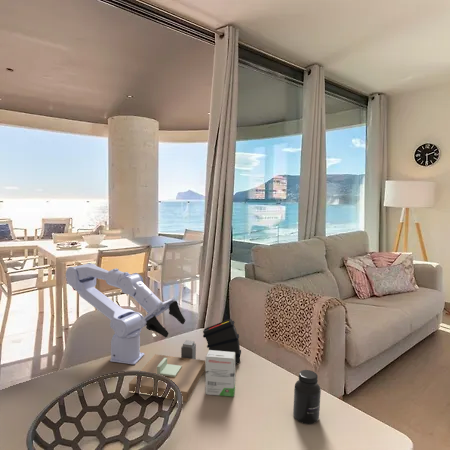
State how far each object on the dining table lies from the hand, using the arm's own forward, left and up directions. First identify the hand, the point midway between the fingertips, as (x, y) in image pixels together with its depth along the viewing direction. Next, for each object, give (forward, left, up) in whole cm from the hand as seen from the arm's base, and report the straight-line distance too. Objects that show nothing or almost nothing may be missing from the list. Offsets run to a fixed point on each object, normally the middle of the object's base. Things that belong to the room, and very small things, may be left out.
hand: (175, 328), depth 113 cm
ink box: (+17, -7, -15) cm, 24 cm away
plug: (+2, +8, -15) cm, 17 cm away
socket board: (0, -5, -15) cm, 16 cm away
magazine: (+13, +12, -15) cm, 23 cm away
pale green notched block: (0, -5, -12) cm, 13 cm away
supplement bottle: (+42, -13, -15) cm, 46 cm away
